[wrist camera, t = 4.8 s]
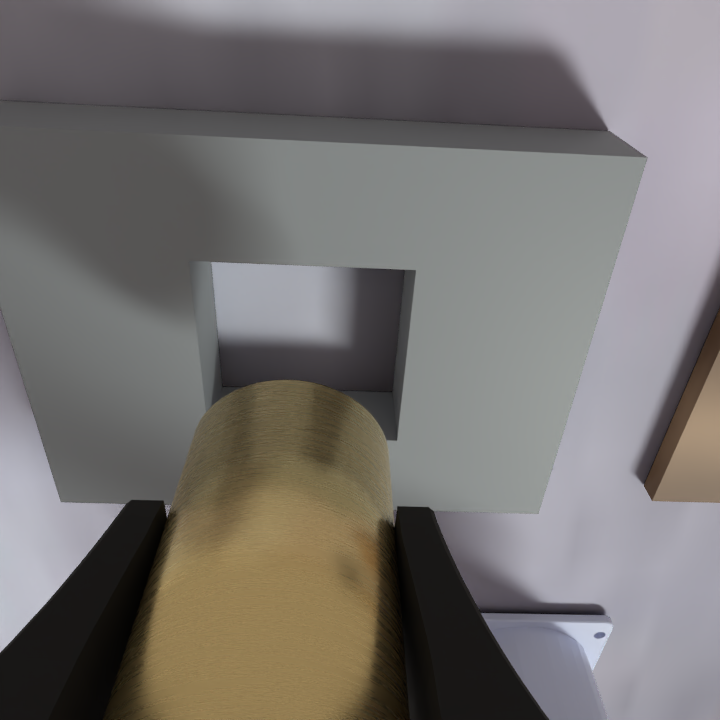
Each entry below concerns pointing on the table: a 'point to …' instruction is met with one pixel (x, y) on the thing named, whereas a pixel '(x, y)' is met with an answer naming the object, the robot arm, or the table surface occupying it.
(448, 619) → the robot arm
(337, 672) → the brass peg
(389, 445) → the grey square socket plate
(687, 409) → the stand pad
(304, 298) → the table surface
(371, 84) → the table surface
